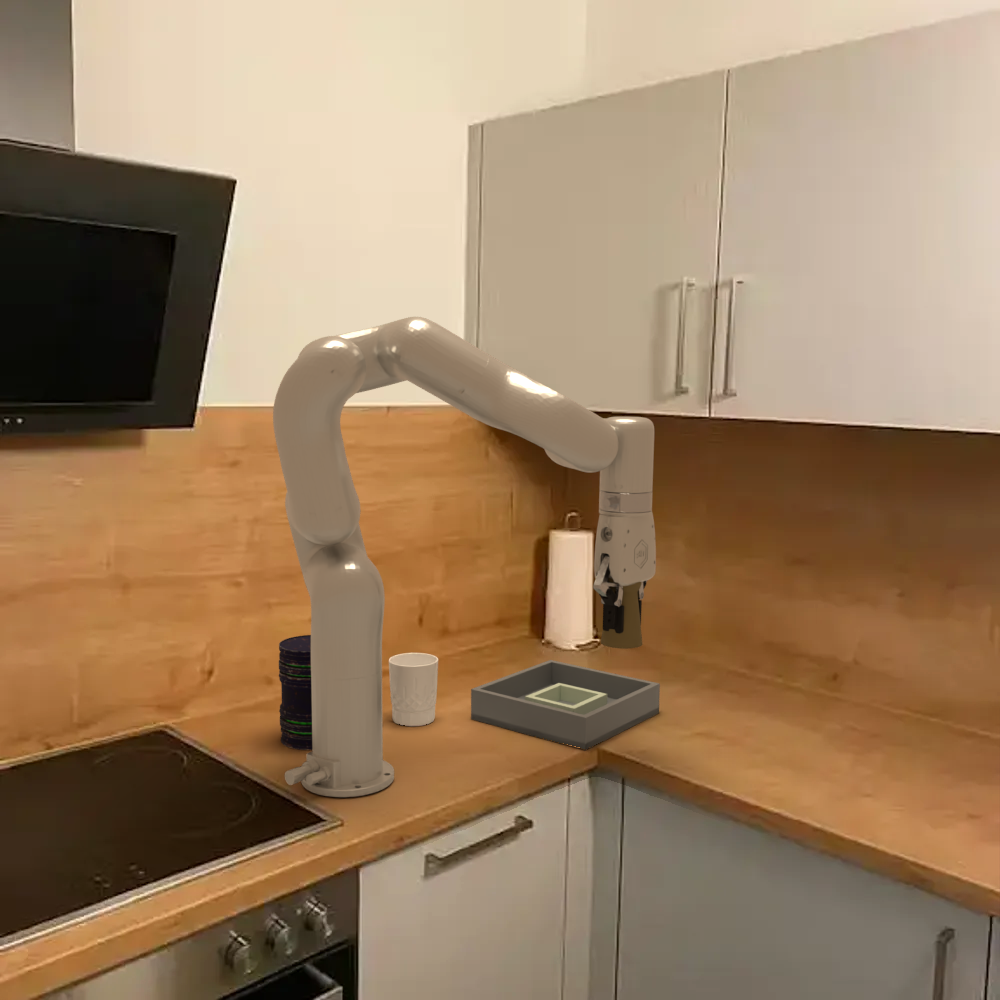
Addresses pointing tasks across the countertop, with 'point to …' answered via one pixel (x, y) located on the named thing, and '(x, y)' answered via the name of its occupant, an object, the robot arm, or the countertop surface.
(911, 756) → the countertop surface
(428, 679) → the white cup
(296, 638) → the storage jar
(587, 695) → the open box
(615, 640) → the brown pepper mill
